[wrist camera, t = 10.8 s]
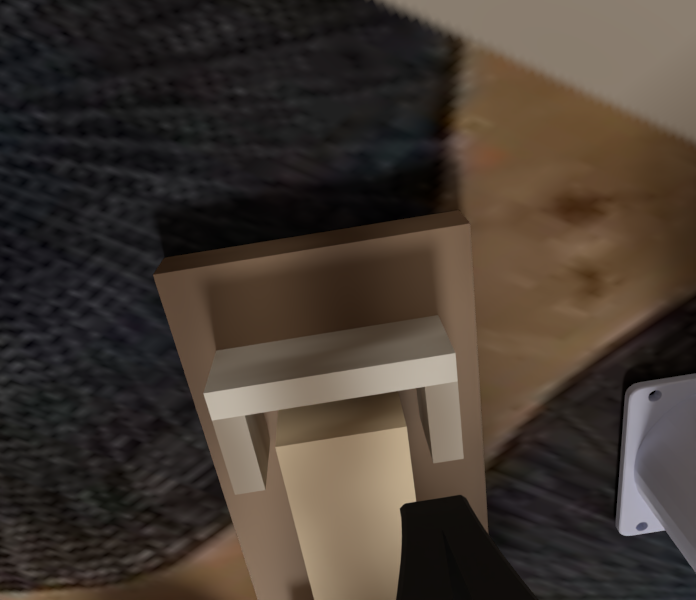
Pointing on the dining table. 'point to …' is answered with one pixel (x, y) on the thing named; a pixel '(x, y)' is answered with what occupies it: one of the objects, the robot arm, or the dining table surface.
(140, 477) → the dining table surface
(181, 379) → the dining table surface
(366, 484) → the slat
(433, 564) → the robot arm
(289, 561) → the endcap rail
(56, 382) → the dining table surface
